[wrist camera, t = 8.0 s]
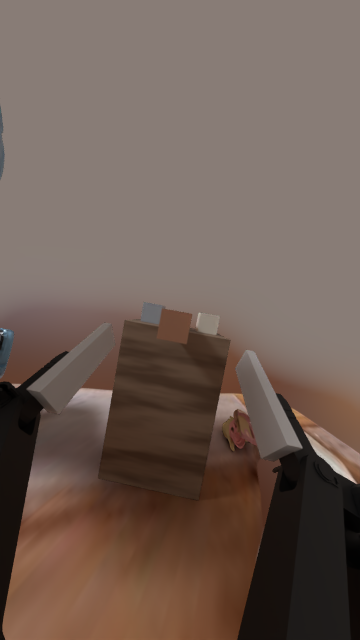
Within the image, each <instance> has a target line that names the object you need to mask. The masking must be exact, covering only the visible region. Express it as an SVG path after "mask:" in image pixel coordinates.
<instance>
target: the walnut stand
mask: <svg viewBox="0 0 360 640" xmlns="http://www.w3.org/2000/svg"><path fill="white" fill-rule="evenodd" d="M158 328H159V324H154V323H149V322H143V321H141V319H136V320H125V322H124V327H123V333H122V339H121V346H120V352H119V357H118V363H117V369H116V375H115V382H114V387H113V393H112V398H111V404H110V410H109V416H108V422H107V428H106V434H105V440H104V446H103V452H102V458H101V464H100V469H99V475H98V478H99V479H104V480H108V481H113V482H117V483H122V484H126V485H131V486H135V487H140V488H144V489H149V490H153V491H158V492H162V493H167V494H171V495H176V496H180V497H185V498H190V499H194V500H199V495H200V490H201V485H202V480H203V475H204V470H205V465H206V460H207V455H208V450H209V445H210V440H211V435H212V430H213V425H214V420H215V415H216V410H217V405H218V400H219V395H220V390H221V385H222V380H223V375H224V370H225V365H226V360H227V355H228V350H229V345H230V340H229V339H227V338H225V337H223V336H221V335H219V334H216V335H213V334H207V333H202V332H197V331H196V330H195V329H193V328H190V329H189V334H188V340H187V344H183V343H177V342H172V341H167V340H162V339H157V333H158Z"/></svg>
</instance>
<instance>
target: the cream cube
mask: <svg viewBox="0 0 360 640" xmlns="http://www.w3.org/2000/svg"><path fill="white" fill-rule="evenodd" d="M219 319H220V316H217V315H211V314H206V313H198V318H197V324H196V329H195V330H196V331H197V332H202V333H207V334H213V335H216V334H217V329H218V324H219Z"/></svg>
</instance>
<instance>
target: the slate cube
mask: <svg viewBox="0 0 360 640" xmlns="http://www.w3.org/2000/svg"><path fill="white" fill-rule="evenodd" d="M162 309H165V307H164V306H162V305H157V304H151V303H146V302H144V304H143V310H142V316H141V321H143V322H149V323H154V324H159V322H160V316H161V311H162Z"/></svg>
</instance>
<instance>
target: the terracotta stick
mask: <svg viewBox="0 0 360 640" xmlns="http://www.w3.org/2000/svg"><path fill="white" fill-rule="evenodd" d="M191 318H192V314H189V313H184V312H179V311H173V310H167V309H162V311H161V316H160V322H159V328H158V333H157V339H162V340H167V341H172V342H177V343H183V344H187V340H188V334H189V329H190V324H191Z"/></svg>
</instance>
